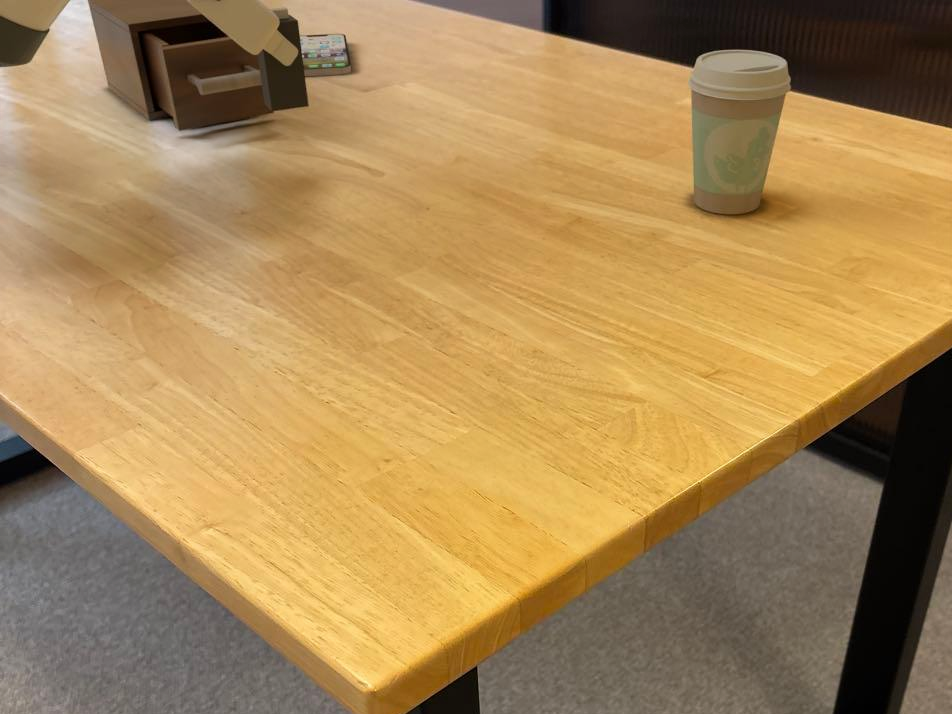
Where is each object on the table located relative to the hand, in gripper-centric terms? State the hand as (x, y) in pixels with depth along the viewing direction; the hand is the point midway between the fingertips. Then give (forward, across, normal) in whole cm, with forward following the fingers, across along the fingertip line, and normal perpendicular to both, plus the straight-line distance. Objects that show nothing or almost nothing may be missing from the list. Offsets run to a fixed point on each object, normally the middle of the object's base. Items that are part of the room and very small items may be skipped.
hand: (286, 52), depth 96 cm
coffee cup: (+31, -23, -15) cm, 41 cm away
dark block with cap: (+3, 0, +4) cm, 4 cm away
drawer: (+4, +22, +10) cm, 24 cm away
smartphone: (+17, +41, -2) cm, 44 cm away
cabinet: (+4, +33, +12) cm, 35 cm away
